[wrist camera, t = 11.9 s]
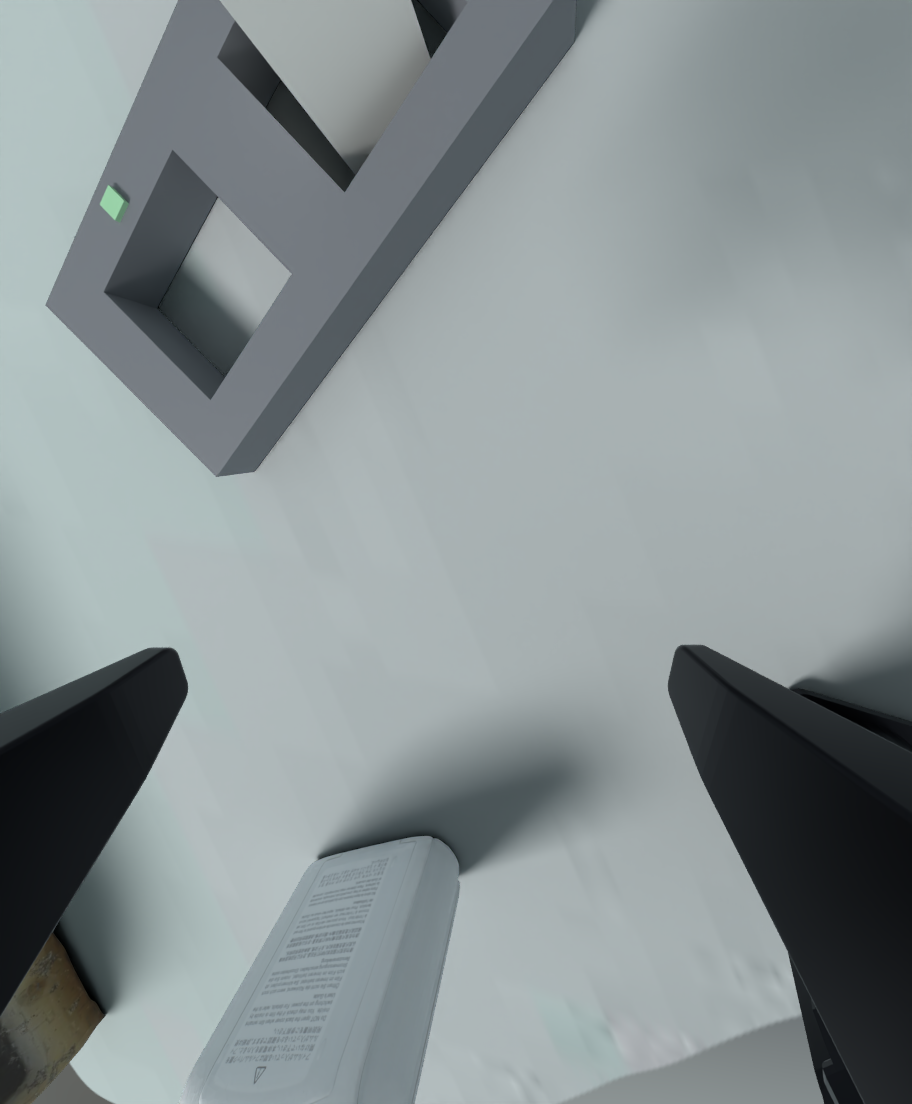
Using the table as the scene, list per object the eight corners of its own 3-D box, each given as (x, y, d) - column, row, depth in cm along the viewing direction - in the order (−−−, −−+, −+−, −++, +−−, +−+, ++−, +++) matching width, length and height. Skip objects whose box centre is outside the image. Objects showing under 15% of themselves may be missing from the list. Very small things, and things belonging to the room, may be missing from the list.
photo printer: (336, 907, 28) (182, 1244, 16) (302, 856, 28) (117, 1167, 16) (474, 880, 25) (404, 1272, 13) (439, 821, 24) (333, 1178, 13)
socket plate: (574, 41, 14) (578, -43, 12) (254, 471, 21) (213, 477, 18) (360, -198, 14) (316, -339, 11) (103, 319, 21) (39, 303, 18)
